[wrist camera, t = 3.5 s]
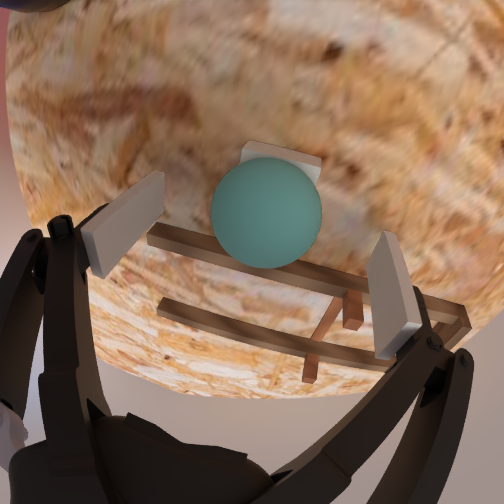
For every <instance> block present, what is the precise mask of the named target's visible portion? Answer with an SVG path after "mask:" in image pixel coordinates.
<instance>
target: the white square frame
mask: <svg viewBox="0 0 504 504" xmlns="http://www.w3.org/2000/svg"><path fill="white" fill-rule="evenodd" d="M256 158H276V159H281V160H284V161H287V162H289V163H291V164H293V165H295V166H296V167H298V168H299V169H301V170H302V171H303V172H304V173H305V174H306V175H307V176H308V177H309V178H310V179H311V181H312V182H313V184H314V186H315V187H316V185H317V181H318V178H319V175H320V171H321V158H320V157H316V156H313V155H309V154H306V153H302V152H298V151H294V150H290V149H286V148H282V147H278V146H274V145H270V144H265V143H261V142H256V141H251V140H249V141H248V142H247V143H246V144H245V146H244V147H243V148H242V151H241V157H240V164H241V163H243V162H245V161H248V160H251V159H256Z"/></svg>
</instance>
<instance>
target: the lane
mask: <svg viewBox="0 0 504 504" xmlns="http://www.w3.org/2000/svg"><path fill="white" fill-rule="evenodd" d="M147 243H148V245H150V246H154V247H157V248H160V249H164V250H167V251H170V252H174V253H177V254H181V255H184V256H188V257H191V258H194V259H198V260H201V261H205V262H208V263H212V264H215V265H219V266H222V267H226V268H230V269H233V270H237V271H240V272H244V273H248V274H251V275H255V276H259V277H262V278H266V279H270V280H273V281H277V282H281V283H285V284H288V285H292V286H296V287H300V288H303V289H307V290H311V291H315V292H319V293H323V294H327V295H330V296H334V299H333V301H332V303H331V304H330V306H329V308H328V310H327V311H326V313H325V315H324V317H323V318H322V320H321V322H320V323H319V325H318V327H317V328H316V330H315V332H314V333H313V335H312V337H311V338H310V339H307V338H303V337H299V336H295V335H291V334H287V333H283V332H279V331H275V330H271V329H267V328H263V327H259V326H256V325H252V324H248V323H245V322H241V321H238V320H234V319H231V318H227V317H224V316H221V315H217V314H214V313H211V312H207V311H204V310H201V309H198V308H195V307H192V306H189V305H185V304H182V303H179V302H176V301H173V300H170V299H167V298H165V297H163V298H162V300H161V302H160V304H159V305H158V307H157V314H158V315H159V316H162V317H164V318H167V319H170V320H173V321H176V322H179V323H181V324H184V325H187V326H190V327H193V328H196V329H200V330H203V331H206V332H209V333H212V334H215V335H219V336H222V337H225V338H229V339H232V340H236V341H239V342H243V343H246V344H250V345H254V346H257V347H261V348H265V349H269V350H273V351H277V352H281V353H285V354H290V355H294V356H298V357H303V358H305V361H304V369H303V376H302V382H304V383H310V384H313V383H314V382H315V381H316V380H317V371H318V361H322V362H327V363H332V364H337V365H342V366H348V367H354V368H360V369H366V370H372V371H379V372H385V371H386V370H387V369H388V368H389V367H390V366H392V365H393V364H394V363H395V362H396V361H397V360H396V356H393V357H392V358H391V359H390V360H383V359H377V358H375V352H370V351H365V350H359V349H354V348H349V347H344V346H339V345H334V344H330V343H325V342H321V340H322V339H323V337H324V336H325V334H326V333H327V331H328V330H329V328H330V327H331V325H332V323H333V322H334V320H335V319H336V317H337V316H338V314H339V312H340V311H341V309H342V308H343V328H346V329H350V330H355V331H357V330H358V329H359V327H360V326H361V325H362V323H363V322H364V316H363V304H366V305H370V306H371V302H370V294H369V286H368V279H366V278H362V277H359V276H355V275H351V274H348V273H344V272H340V271H337V270H333V269H329V268H326V267H322V266H318V265H315V264H311V263H307V262H303V261H300V260H295V261H294V262H292V263H289V264H287V265H284V266H281V267H277V268H256V267H251V266H248V265H246V264H243V263H241V262H239V261H238V260H236V259H235V258H233V257H232V256H231V255H229V254H228V253H227V252H226V251H225V250H224V249H223V247H222V246H221V245H220V243H219V241H218V240H217V238H214V237H211V236H207V235H203V234H199V233H196V232H192V231H188V230H184V229H180V228H177V227H173V226H169V225H165V224H162V223H158V222H156V223H155V224H154V226H153V227H152V228H151V229H150V230H149V231H148V232H147ZM422 295H423V298H424V301H425V305H426V308H427V309H426V310H427V312H428V316H429V319H430V320H434V321H438V324H437V325H436V326H435V327H434V328H433V329H432V331H433V332H435V333H437V334H438V335H439V336H440V338H441V339H442V341H443V343H444V348H445V349H447V350H449V351H450V350H451V349H452V348H453V347H454V346H455V345H456V344H457V343H458V342H459V341H460V340H461V339H462V338H463V337H464V336H465V335H466V334H467V333H468V332H469V331H470V330H471V329H472V327H471V324H470V321H469V318H468V315H467V312H466V309H465V306H463V305H460V304H456V303H453V302H449V301H445V300H442V299H438V298H435V297H431V296H427V295H424V294H422Z"/></svg>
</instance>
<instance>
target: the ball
mask: <svg viewBox="0 0 504 504" xmlns="http://www.w3.org/2000/svg"><path fill="white" fill-rule="evenodd" d="M321 220H322V206H321V201H320V197H319V194H318V191H317V189H316V187H315V186H314V184H313V182H312V181H311V179H310V178H309V177H308V176H307V175H306V174H305V173H304V172H303V171H302V170H301V169H299V168H298V167H296V166H295V165H293V164H291V163H289V162H287V161H284V160H281V159H276V158H256V159H251V160H248V161H245V162H243V163H241V164H239V165H237V166H236V167H234V168H233V169H231V170H230V171H229V172H228V173H227V174H226V175H225V176H224V177H223V178H222V180H221V181H220V183H219V184H218V186H217V188H216V190H215V192H214V195H213V198H212V202H211V223H212V227H213V231H214V233H215V236H216V238H217V240H218V241H219V243H220V245H221V246H222V247H223V249H224V250H225V251H226V252H227V253H228V254H229V255H231V256H232V257H233V258H235V259H236V260H238V261H239V262H241V263H243V264H246V265H248V266H251V267H256V268H277V267H281V266H284V265H287V264H289V263H292V262H294V261H295V260H297V259H298V258H300V257H301V256H302V255H303V254H305V253H306V252H307V250H308V249H309V248H310V247H311V246H312V244H313V243H314V241H315V239H316V237H317V235H318V232H319V230H320V226H321Z"/></svg>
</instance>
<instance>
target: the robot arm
mask: <svg viewBox="0 0 504 504" xmlns="http://www.w3.org/2000/svg"><path fill="white" fill-rule="evenodd" d="M67 1H69V0H0V7H3V8H7V9H11V10H15V11H19V12H23V13H32V12H43V11H49V10H52V9H55V8H57V7H59V6H61V5H63V4H64V3H66V2H67ZM163 212H164V172H160V171H155V170H153V171H152V172H150V173H149V174H148V175H146V176H145V177H144V178H142V179H141V180H139V181H138V182H137V183H135V184H134V185H133V186H131V187H130V188H129V189H128V190H126V191H125V192H124V193H122V194H121V195H120V196H119V197H117V198H116V199H115V200H114V201H112V202H111V203H110V204H109V203H107V204H105V205H102V206H100V207H99V208H97V209H96V210H95V211H94V212H93V213H91V214H90V215H89V216H88V217H87V218H85V219H84V220H83V221H82V222H81V223H80V224H79V225H77V226H76V227H75V228H74V226H73V222H72V218H71V217H70V216H69V215H59V216H56V217H54V218H53V219H51V220H50V221H49V222H48V224H47V227H48V231H49V234H50V237H51V238H50V237H43V234H42V231H41V230H40V229H31V230H29V231H27V232H26V233H25V234H24V235H23V236H22V237H21V240H20V241H19V243H18V244H17V246H16V248H15V250H14V252H13V254H12V256H11V257H10V259H9V261H8V263H7V265H6V267H5V269H4V271H3V274H2V276H1V278H0V466H1V467H2V468H3V469H5V470H6V471H7V472H8V473H9V481H10V490H11V500H10V504H330V503H331V502H332V501H333V500H334V499H335V498H336V497H337V496H339V495H340V494H341V493H342V492H343V491H344V490H345V489H346V488H347V487H348V486H349V484H350V483H351V477H352V475H353V474H354V473H355V472H356V471H357V470H358V468H360V466H362V465H363V463H364V462H365V461H366V460H367V459H368V458H369V457H370V456H371V455H372V454H373V452H374V451H375V450H376V449H377V448H378V447H379V446H380V444H381V443H382V442H383V441H384V440H385V439H386V437H387V436H388V435H389V434H390V432H391V431H392V430H393V429H394V427H395V426H396V425H397V423H398V422H399V421H400V419H401V418H402V417H403V415H404V414H405V413H406V411H407V410H408V408H409V407H410V405H411V404H412V403H413V401H414V400H415V398H416V397H417V395H418V394H419V396H418V398H417V401H416V404H415V407H414V409H413V412H412V415H411V417H410V420H409V422H408V425H407V427H406V430H405V432H404V434H403V436H402V439H401V441H400V443H399V445H398V447H397V449H396V452H395V454H394V456H393V458H392V460H391V462H390V464H389V466H388V468H387V469H386V471H385V473H384V475H383V477H382V479H381V480H380V482H379V484H378V485H377V487H376V489H375V491H374V492H373V494H372V496H371V497H370V499H369V500H368V502H367V503H366V504H437V502H438V500H439V498H440V495H441V493H442V491H443V488H444V486H445V483H446V481H447V478H448V476H449V473H450V470H451V468H452V465H453V462H454V459H455V456H456V452H457V449H458V446H459V442H460V439H461V435H462V431H463V427H464V423H465V419H466V414H467V409H468V404H469V399H470V393H471V387H472V380H473V372H474V360H473V357H472V355H471V354H470V353H469V352H468V351H467V350H466V349H464V348H460V349H458V350H457V351H456V352H455V353H452V352H451V351H449V350H447V349H445V348H444V343H443V341H442V339H441V338H440V336H439V335H438V334H437V333H435V332H433V331H432V327H431V323H430V319H429V316H428V312H427V310H426V309H427V308H426V305H425V301H424V298H423V295H422V293H421V291H420V290H419V288H418V287H416V286H413V285H412V283H411V279H410V276H409V273H408V270H407V266H406V263H405V260H404V257H403V254H402V251H401V249H400V246H399V243H398V240H397V237H396V235H395V234H394V233H391V232H388V231H385V230H384V231H383V233H382V235H381V237H380V239H379V241H378V243H377V245H376V247H375V249H374V251H373V253H372V255H371V257H370V259H369V261H368V263H367V265H366V272H367V278H368V286H369V294H370V302H371V311H372V321H373V332H374V346H375V358H377V359H383V360H390V359H391V358H392V357H393V356H394V355H395V354H396V360H397V361H396V362H395V363H394V364H393V365H392V366H390V367H389V368H388V369H387V370H386V371H385V374H384V375H383V376H382V378H381V379H380V380H379V381H378V382H377V383H376V384H375V386H374V387H373V388H372V389H371V390H370V391H369V392H368V393H367V394H366V395H365V396H364V397H363V398H362V400H360V402H359V403H358V404H357V405H356V406H355V407H354V408H353V409H352V410H351V411H350V412H349V413H347V414H346V415H345V416H344V417H343V418H342V419H341V420H340V421H339V422H338V423H337V424H336V425H335V426H334V427H333V428H332V429H330V430H329V431H328V432H327V433H326V434H325V435H324V436H322V437H321V438H320V439H319V440H318V441H317V442H315V443H314V444H313V445H312V446H310V447H309V448H308V449H307V450H305V451H304V452H303V453H302V454H300V455H299V456H298V457H297V458H295V459H294V460H292V461H291V462H289V463H287V464H286V465H284V466H283V467H281V468H280V469H278V470H277V471H275V472H274V473H272V474H271V475H268V473H266V471H265V470H264V469H263V468H261V467H260V466H259V465H258V464H256V463H254V462H253V461H251V460H249V459H247V455H248V454H246V453H242V452H237V451H234V450H230V449H226V448H222V447H219V446H209V445H195V444H186V443H182V442H180V441H179V440H177V439H176V438H174V437H173V436H171V435H170V434H168V433H167V432H165V431H164V430H163V429H161V428H160V427H158V426H156V424H153V423H151V422H149V421H146V420H144V419H142V418H140V417H137V416H135V415H133V414H131V413H129V412H128V413H127V416H126V417H125V416H112V414H111V411H110V409H109V406H108V404H107V402H106V400H105V397H104V395H103V390H102V386H101V381H100V376H99V372H98V366H97V361H96V355H95V349H94V342H93V335H92V327H91V319H90V309H89V297H88V281H87V273H86V269H87V268H88V267H89V266H90V267H91V271H92V274H93V275H95V276H97V277H100V278H102V279H105V277H106V276H107V275H108V274H109V273H110V271H111V270H112V269H113V268H114V267H115V265H116V264H117V263H118V262H119V261H120V260H121V258H122V257H123V256H124V255H125V254H126V253H127V252H128V250H129V249H130V248H131V247H132V246H133V245H134V244H135V243H136V241H137V240H138V239H139V238H140V237H141V236H142V235H143V234H144V233H145V232H146V230H147V229H148V228H149V227H150V226H151V225H152V224H153V223H154V222H155V221H156V220H157V219H158V218H159V217H160V216H161V214H162V213H163ZM32 271H33V272H32ZM42 317H43V354H44V372H43V373H41V374H40V375H39V377H38V387H39V397H40V405H41V412H42V418H43V424H44V430H45V435H46V440H44V441H41V442H38V443H35V444H33V445H30V446H27V447H25V444H24V441H25V440H26V439H27V438H28V432H27V429H26V428H25V427H24V424H23V422H22V420H23V417H24V413H25V409H26V403H27V396H28V388H29V380H30V373H31V367H32V361H33V355H34V351H35V346H36V341H37V337H38V333H39V328H40V324H41V320H42Z"/></svg>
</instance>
